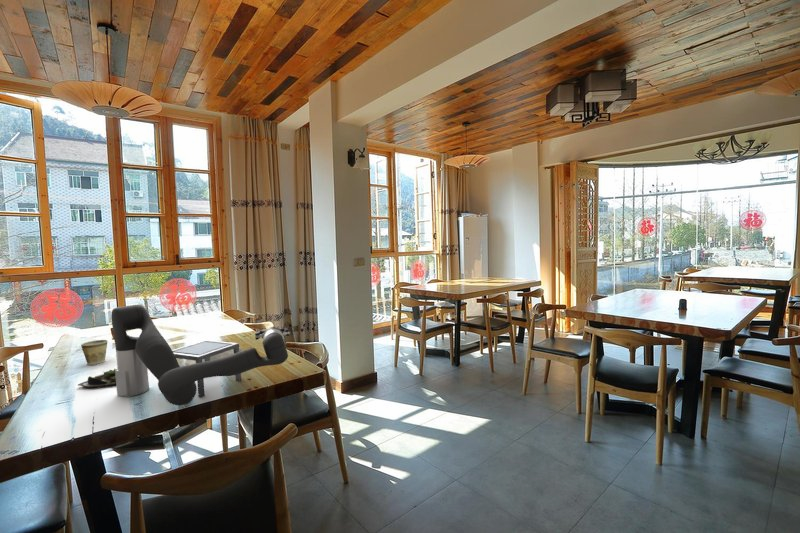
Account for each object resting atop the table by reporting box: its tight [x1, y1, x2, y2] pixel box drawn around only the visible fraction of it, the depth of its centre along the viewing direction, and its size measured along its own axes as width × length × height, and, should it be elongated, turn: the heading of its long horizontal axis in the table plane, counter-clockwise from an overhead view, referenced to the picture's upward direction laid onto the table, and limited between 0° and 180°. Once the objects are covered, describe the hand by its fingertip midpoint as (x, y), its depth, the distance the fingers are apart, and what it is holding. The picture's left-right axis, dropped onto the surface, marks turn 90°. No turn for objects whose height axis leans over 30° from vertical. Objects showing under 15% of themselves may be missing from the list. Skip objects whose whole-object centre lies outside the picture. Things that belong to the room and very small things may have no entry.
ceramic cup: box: [80, 339, 108, 366], centre depth 187 cm, size 13×10×10 cm
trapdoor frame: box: [172, 339, 242, 398], centre depth 150 cm, size 19×19×15 cm
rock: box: [184, 345, 243, 366], centre depth 179 cm, size 19×7×25 cm
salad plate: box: [77, 368, 118, 390], centre depth 161 cm, size 19×18×5 cm
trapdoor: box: [174, 342, 230, 355], centre depth 149 cm, size 14×14×1 cm
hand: (271, 329), depth 166 cm, fingers closed on lemon, 4 cm apart
